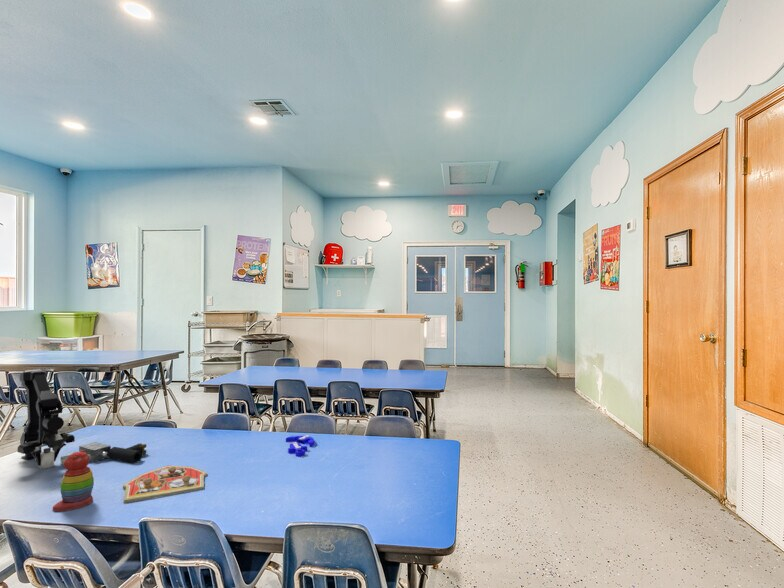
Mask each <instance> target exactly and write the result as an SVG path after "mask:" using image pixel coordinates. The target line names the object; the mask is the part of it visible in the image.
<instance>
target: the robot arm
mask: <svg viewBox="0 0 784 588" xmlns="http://www.w3.org/2000/svg"><path fill="white" fill-rule="evenodd" d="M19 380H20V382H21V386H22V387H23V388H24V389H25V391H26V406H27V423H26V425H25V426H24V428H23V432H22V434H21V437H20V439H19V445H18V447H17V451H16V452H17V453H20V454H21V455H22V454H23V455H22V456H21V457H20V458H21V459H24V460H26V461H30V460H32V459H34V461H35V462H36V464H37V466H38V467H39V466H40V465H41V455H40V454H41V452H43V451H42V447H47V448H51V450H53V451H54V463H55V462H56V460H57V458H58V455H59V453H60V451H61V450H62V449H63V447H65V446H67V444H70V443H74V442H75V440H76V439H75V438H76V437H75V435H73V434H69V433H68V432H65V431H64V432H61V433H59V430H60V429H62V428H63V426H64V424H65V421H64V419H63V418H62V417H60V416H59V414H62V413H63V409H64V408H63V404H62V401H61V399H59V398H58V395H57V394H56V393H54V392H52V390H51V388H50V385H49V382H48V379H47V371H46V370H42V369H31V370H30V369H29V370H23V371H22V373H20V374H19Z"/></svg>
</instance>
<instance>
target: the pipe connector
mask: <svg viewBox="0 0 784 588" xmlns="http://www.w3.org/2000/svg"><path fill="white" fill-rule="evenodd" d="M145 448H147V444H146V443H144V444H143V443H137V444H135V445H131V446H129V447H126V448H124V447H117V446H112V447H111V449H110V450H109V452H108V453H109V454H108V459H111V460H112V459H113V460H118V461H124V462H127V463H133V464H134V463H135V464H136V463H138V462H140V461H141V460H142V458H143V455H145V454H147V449H145Z"/></svg>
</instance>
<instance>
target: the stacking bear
mask: <svg viewBox="0 0 784 588" xmlns="http://www.w3.org/2000/svg"><path fill="white" fill-rule="evenodd" d="M70 454H71V455H70V456H69V457H68V458H67V459H66V460H65V461H64V462H63V464H62V465H63V467H64V468H65V470H66V471H64V473H63V477H62V480H61V482H60V494H61V501H60V500H59V501H58V502H56V503H55V504H54V505H53V506H52V511H54V512H64V511H71V510H75V509H80V508H83V507H85V506H87V505H89V504H91V503H92V502H93V501H94V499H93V495H92V493H93V489H94V484H95V481H94V478H95V477H94V476H93V475H94V473H93V471H92V469H91V468H90V467H89V466H88V465H89V463H90V462H89V455H88V454H87V453H85V451H84V450H81V452H79V451H75V452H73V454H72V453H70Z"/></svg>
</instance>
